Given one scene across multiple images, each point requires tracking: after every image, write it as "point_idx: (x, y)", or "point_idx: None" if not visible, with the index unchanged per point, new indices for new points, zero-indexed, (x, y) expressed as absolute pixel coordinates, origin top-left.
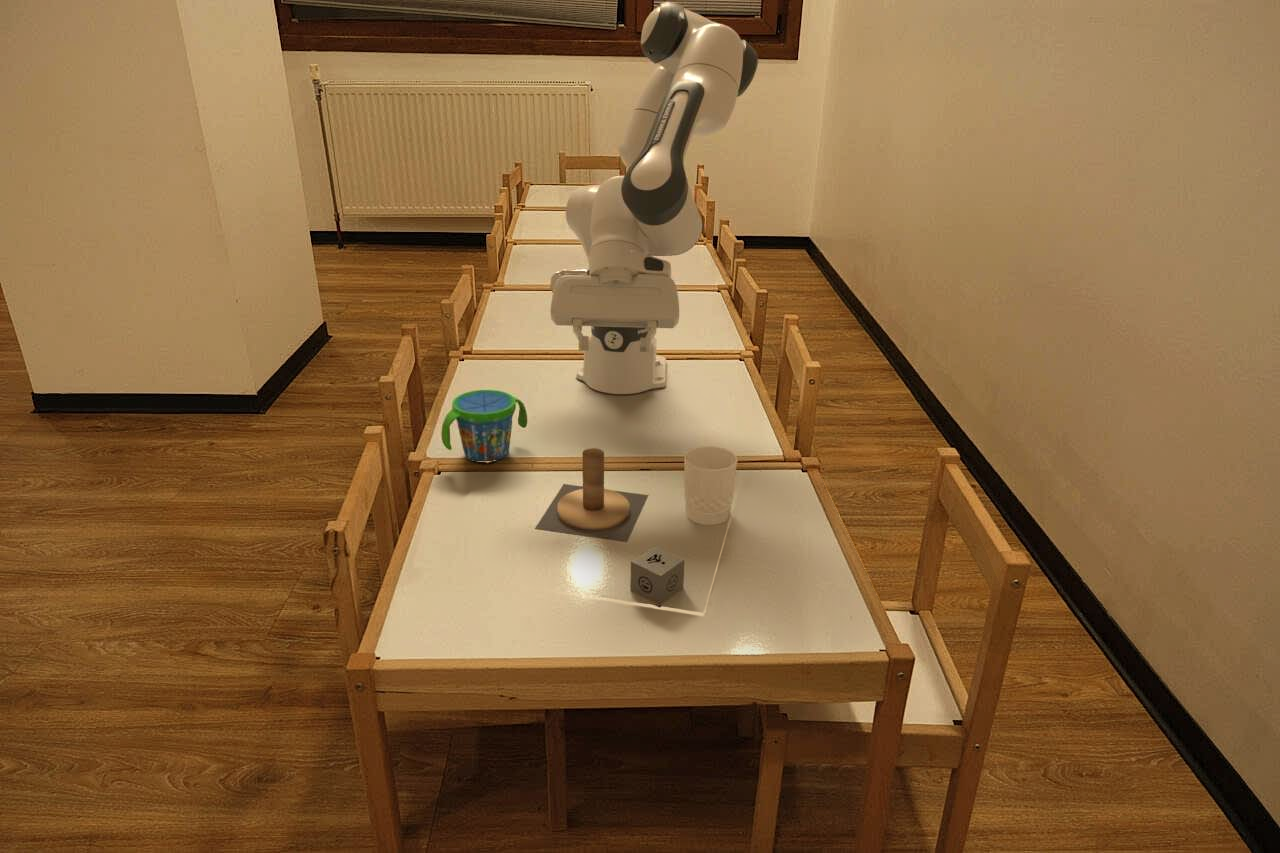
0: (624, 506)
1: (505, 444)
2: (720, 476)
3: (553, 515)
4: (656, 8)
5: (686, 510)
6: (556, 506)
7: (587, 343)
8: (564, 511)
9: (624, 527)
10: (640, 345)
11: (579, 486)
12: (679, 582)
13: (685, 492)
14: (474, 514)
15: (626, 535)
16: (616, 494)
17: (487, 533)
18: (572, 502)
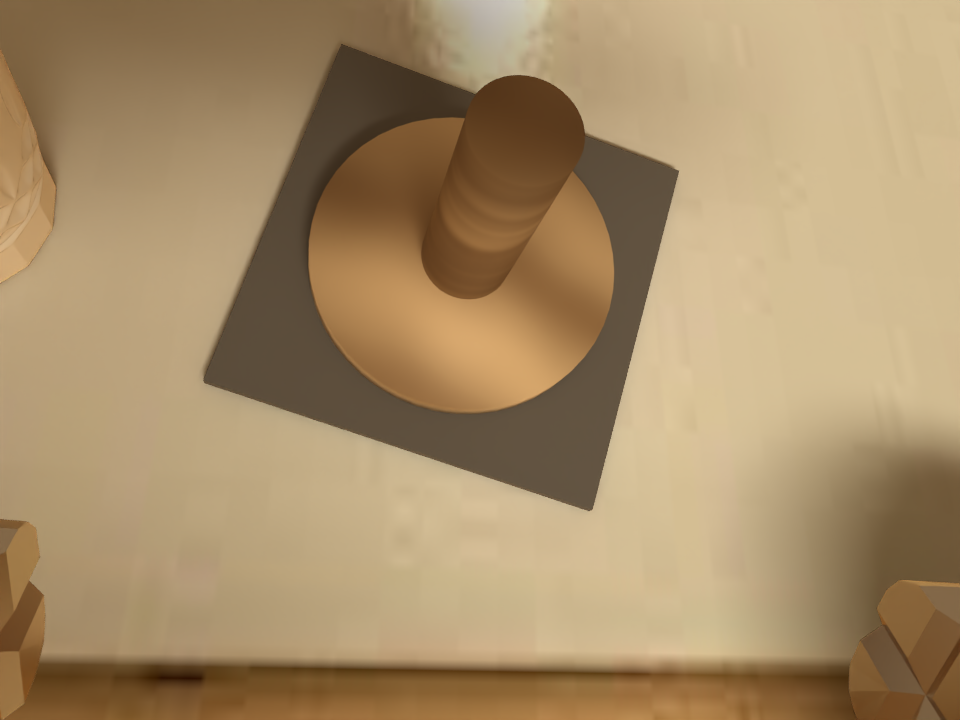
0: (332, 235)
1: None
2: None
3: (618, 252)
4: None
5: (48, 183)
6: (611, 317)
7: (938, 604)
8: (583, 225)
9: (342, 134)
10: (6, 532)
11: (520, 481)
12: None
13: (30, 143)
14: (900, 309)
15: (339, 83)
16: (359, 340)
17: (831, 180)
18: (554, 289)
